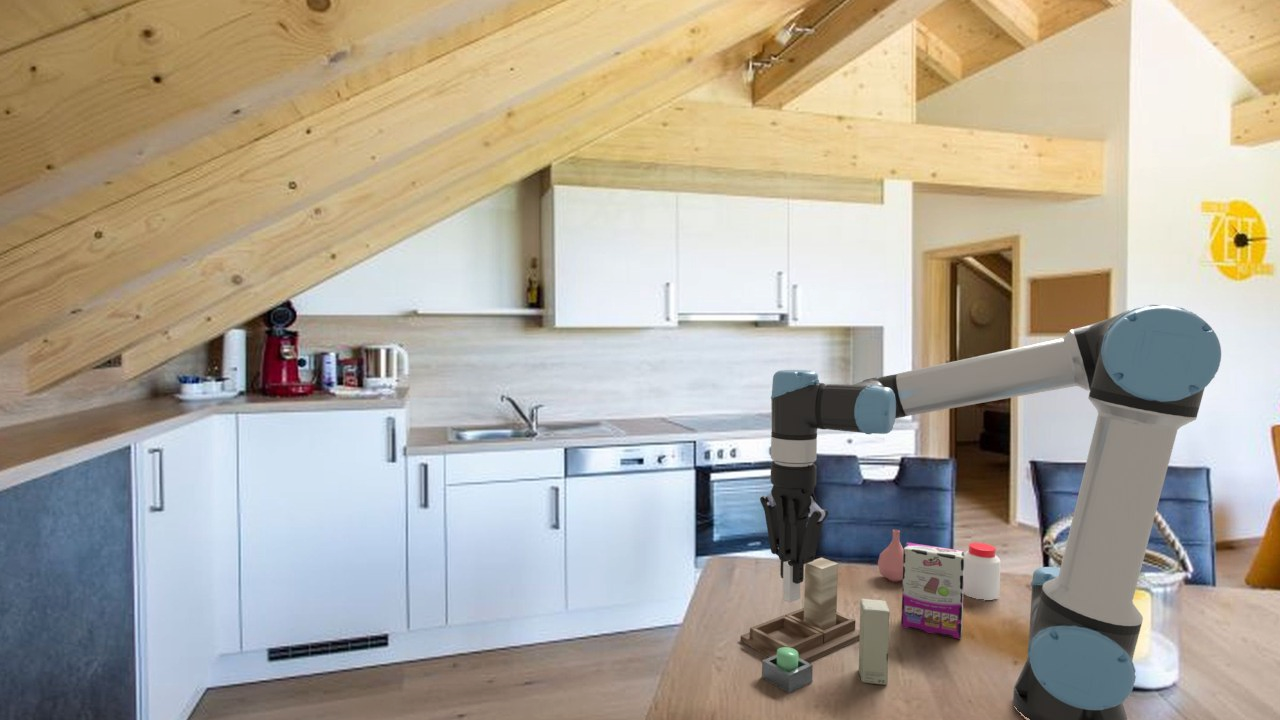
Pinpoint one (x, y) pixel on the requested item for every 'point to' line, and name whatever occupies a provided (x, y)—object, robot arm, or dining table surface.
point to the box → (874, 641)
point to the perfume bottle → (892, 559)
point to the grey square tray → (787, 674)
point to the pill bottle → (981, 572)
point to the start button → (787, 658)
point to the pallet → (801, 636)
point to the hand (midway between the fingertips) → (791, 599)
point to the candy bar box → (933, 589)
